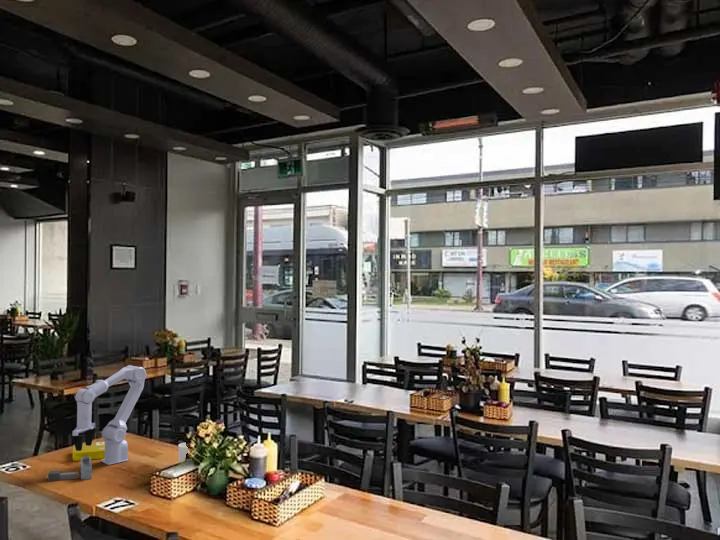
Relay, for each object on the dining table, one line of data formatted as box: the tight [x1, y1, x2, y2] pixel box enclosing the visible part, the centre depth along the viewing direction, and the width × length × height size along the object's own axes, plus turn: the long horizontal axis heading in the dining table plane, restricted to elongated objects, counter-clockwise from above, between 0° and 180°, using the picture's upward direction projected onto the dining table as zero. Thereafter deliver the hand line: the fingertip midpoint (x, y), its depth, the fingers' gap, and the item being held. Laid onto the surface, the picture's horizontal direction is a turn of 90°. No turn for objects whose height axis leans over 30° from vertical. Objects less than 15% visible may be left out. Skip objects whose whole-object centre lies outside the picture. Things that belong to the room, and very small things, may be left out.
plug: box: [45, 469, 80, 482], centre depth 244 cm, size 12×4×3 cm, turn 106°
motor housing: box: [79, 456, 93, 481], centre depth 249 cm, size 4×12×6 cm, turn 27°
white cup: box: [177, 442, 188, 464], centre depth 262 cm, size 8×8×10 cm
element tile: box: [71, 441, 105, 462], centre depth 276 cm, size 15×15×5 cm
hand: (83, 448), depth 256 cm, fingers open, 7 cm apart
